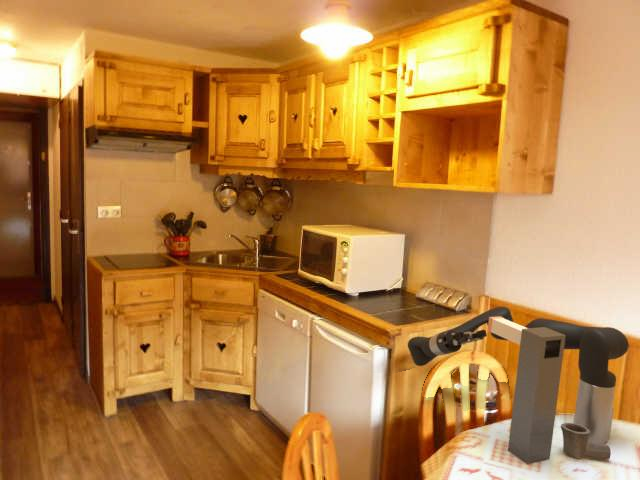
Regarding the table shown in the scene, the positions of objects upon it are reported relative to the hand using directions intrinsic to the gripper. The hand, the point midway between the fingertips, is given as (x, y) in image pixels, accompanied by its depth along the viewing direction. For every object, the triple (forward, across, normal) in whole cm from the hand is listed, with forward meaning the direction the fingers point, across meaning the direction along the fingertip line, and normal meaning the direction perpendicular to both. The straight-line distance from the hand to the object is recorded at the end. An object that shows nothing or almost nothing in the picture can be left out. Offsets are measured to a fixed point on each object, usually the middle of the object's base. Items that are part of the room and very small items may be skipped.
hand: (474, 333), depth 156 cm
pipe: (+14, +14, +38) cm, 43 cm away
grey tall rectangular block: (+10, 0, +35) cm, 36 cm away
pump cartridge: (+15, 0, +4) cm, 16 cm away
